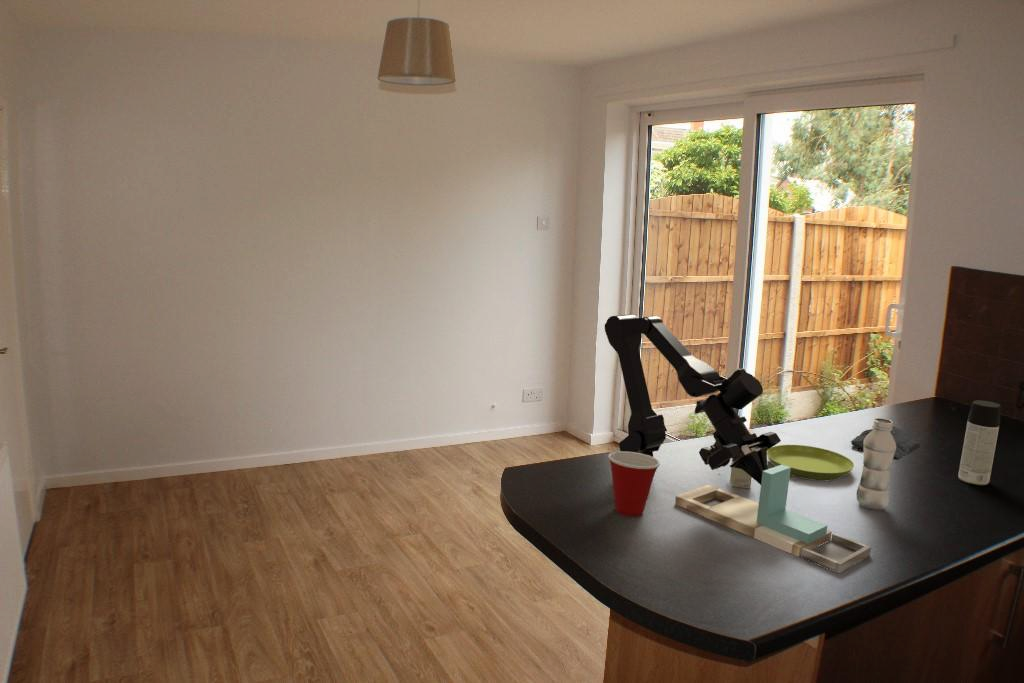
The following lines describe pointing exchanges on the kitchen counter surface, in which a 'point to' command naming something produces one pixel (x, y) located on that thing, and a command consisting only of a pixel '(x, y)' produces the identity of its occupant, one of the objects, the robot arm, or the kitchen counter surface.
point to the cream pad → (775, 538)
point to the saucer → (810, 462)
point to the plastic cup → (632, 480)
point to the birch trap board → (744, 518)
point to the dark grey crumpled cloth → (901, 438)
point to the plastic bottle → (877, 466)
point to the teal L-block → (784, 508)
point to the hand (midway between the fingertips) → (767, 486)
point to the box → (740, 476)
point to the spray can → (980, 442)
